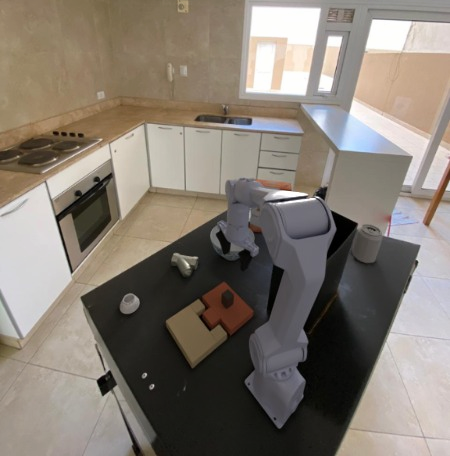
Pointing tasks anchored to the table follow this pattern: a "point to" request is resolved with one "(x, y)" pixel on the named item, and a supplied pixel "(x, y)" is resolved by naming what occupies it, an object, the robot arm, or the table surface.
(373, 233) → the can
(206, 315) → the terracotta pad
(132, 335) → the table surface
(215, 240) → the chinaware
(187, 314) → the sand pad
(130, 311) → the white jar
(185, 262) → the pipe fitting
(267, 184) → the cracker box
